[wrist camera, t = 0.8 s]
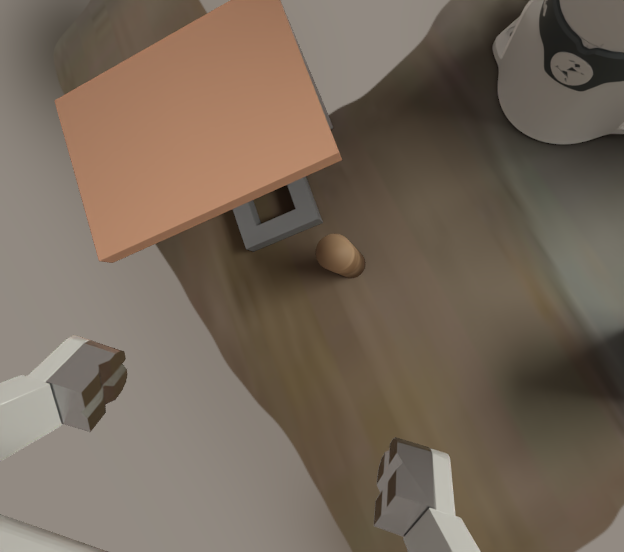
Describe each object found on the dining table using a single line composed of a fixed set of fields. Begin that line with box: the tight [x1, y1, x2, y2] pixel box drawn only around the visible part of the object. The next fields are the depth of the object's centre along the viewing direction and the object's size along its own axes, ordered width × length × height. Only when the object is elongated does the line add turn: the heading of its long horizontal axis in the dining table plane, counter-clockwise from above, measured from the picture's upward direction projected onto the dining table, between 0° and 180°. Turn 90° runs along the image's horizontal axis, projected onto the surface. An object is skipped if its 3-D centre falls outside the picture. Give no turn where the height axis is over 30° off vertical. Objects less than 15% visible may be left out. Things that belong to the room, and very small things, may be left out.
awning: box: [55, 0, 342, 263], centre depth 41 cm, size 15×21×22 cm
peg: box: [316, 234, 365, 278], centre depth 43 cm, size 4×4×12 cm
